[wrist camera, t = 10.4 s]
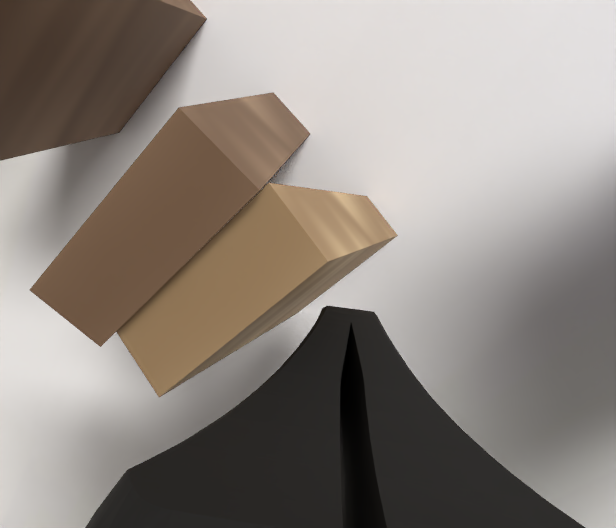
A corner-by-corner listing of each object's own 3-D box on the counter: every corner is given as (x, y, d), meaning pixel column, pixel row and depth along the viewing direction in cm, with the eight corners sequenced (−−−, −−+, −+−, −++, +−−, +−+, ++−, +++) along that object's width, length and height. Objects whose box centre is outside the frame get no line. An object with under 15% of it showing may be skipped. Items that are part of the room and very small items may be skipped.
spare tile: (397, 235, 13) (327, 262, 6) (296, 313, 14) (159, 397, 8) (366, 196, 13) (269, 183, 7) (270, 277, 15) (115, 330, 8)
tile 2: (310, 133, 12) (260, 190, 6) (217, 226, 14) (100, 347, 8) (273, 92, 12) (179, 107, 6) (181, 192, 14) (29, 289, 7)
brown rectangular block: (206, 18, 11) (22, -54, 5) (119, 132, 13) (-104, 184, 7) (163, -31, 11) (-95, -172, 5) (78, 93, 13) (-198, 110, 6)
